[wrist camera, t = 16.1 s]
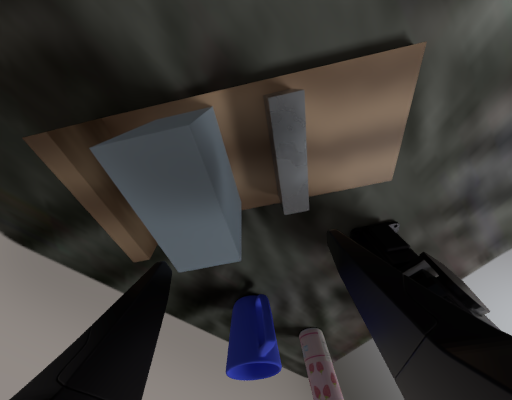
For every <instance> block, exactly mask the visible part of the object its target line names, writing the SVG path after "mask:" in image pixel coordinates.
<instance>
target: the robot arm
mask: <svg viewBox="0 0 512 400" xmlns="http://www.w3.org/2000/svg"><path fill="white" fill-rule="evenodd" d="M399 226H400V224H399V223H398V222H390V223H385V224H379V225H374V226H369V227H363V228H358V229H354V230H352V231H351V237H350V238H349V237H347V236H346V235H344V234H343V233H341V232H340V231H338V230H336V229H332V230H328V232H327V243H328V247H329V249H330V252H331V254H332V257H333V260H334V262H335V265H336V267H337V270H338V272H339V274H340V276H341V278H342V280H343V282H344V284H345V286H346V288H347V290H348V292H349V294H350V295H351V297H352V299H353V301H354V303H355V305H356V307H357V309H358V311H359V313H360V315H361V316H362V318H363V320H364V322H365V324H366V326H367V328H368V330H369V332H370V334H371V336H372V338H373V339H374V341H375V343H376V345H377V347H378V349H379V351H380V353H381V355H382V357H383V358H384V360H385V362H386V364H387V366H388V368H389V370H390V372H391V374H392V376H393V378H395V382H396V384H397V385H398V387H399V389H400V391H401V393H402V395H403V397H404V399H405V400H512V336H511V335H509V334H507V333H505V332H503V331H501V330H500V329H499V328H498V327H497V326H495V324H494V323H492V322H491V321H490V320H489V319H488V318H487V317H486V316H485V315H484V314H486V313H489V312H490V311H489V309H488V308H487V307H486V306H485V305H484V304H483V303H482V302H481V301H480V299H479V298H478V297H477V296H476V295H475V294H474V293H473V292H472V291H471V290H470V288H469V287H468V286H467V285H466V284H465V283H464V282H463V281H462V280H461V279H460V278H459V277H457V276H456V275H455V274H454V273H453V272H452V271H451V270H449V269H448V268H447V267H446V266H445V265H443V264H442V263H441V262H439V261H438V260H436V259H434V258H433V257H431V256H430V255H428V254H427V253H425V252H422V253H421V254H420V256H418V255H417V254H416V253H415V252H414V251H413V250H412V249H411V248H410V245H409V244H407V243H406V242H405V241H404V240H403V239H402V238H401V237H400V236H399V235H398V234H397V232H398V229H399ZM437 275H439V276H438V277H435V276H437ZM171 277H172V270H171V268H170V267H169V266H168V264H167V263H166V262H165V261H161V262H157V263H155V264H154V265H153V266H152V267H151V268H150V269H149V270H148V271H147V272H146V273H145V274H144V275H143V276H142V277H141V278H140V279H139V280H138V281H137V282H136V283H135V284H134V285H133V286H132V287H131V288H130V289H129V290H128V291H127V292H126V293H124V294H123V295H122V296H121V297H120V298H119V299H118V300H117V301H116V302H115V303H114V304H113V305H112V306H111V307H110V308H109V309H108V310H107V311H106V312H105V313H104V314H103V315H102V316H101V317H100V318H99V319H98V320H97V321H96V322H95V323H93V324H92V326H91V327H89V328H88V329H87V330H86V331H85V332H84V333H83V334H82V335H81V336H80V337H79V338H78V339H77V340H76V341H75V342H74V343H73V344H72V345H70V346H69V347H68V348H67V349H66V350H65V351H64V352H63V353H62V354H61V355H60V356H58V357H57V358H56V359H55V360H54V361H53V362H52V363H51V364H49V365H48V366H47V367H46V368H45V369H44V370H43V371H42V372H41V373H39V374H38V375H37V376H36V377H35V378H34V379H33V380H31V382H29V383H28V384H27V385H26V386H25V387H24V388H22V389H21V390H20V391H19V392H18V393H17V394H16V395H14V396H13V397H12V398H11V399H10V400H142V396H143V392H144V388H145V385H146V381H147V377H148V373H149V369H150V366H151V362H152V358H153V355H154V351H155V347H156V343H157V339H158V336H159V331H160V328H161V324H162V320H163V317H164V313H165V309H166V305H167V301H168V296H169V290H170V284H171Z"/></svg>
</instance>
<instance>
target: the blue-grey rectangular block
mask: <svg viewBox="0 0 512 400" xmlns="http://www.w3.org/2000/svg"><path fill="white" fill-rule="evenodd" d="M89 149H90V150H91V152H92V153H93V154H94V156H95V157H96V159H97V160H98V161H99V163H100V164H101V166H102V167H103V168H104V170H105V171H106V172H107V174H108V175H109V177H110V178H111V179H112V181H113V182H114V183H115V185H116V186H117V188H118V189H119V190H120V192H121V193H122V195H123V196H124V197H125V199H126V200H127V201H128V203H129V204H130V206H131V207H132V208H133V210H134V211H135V213H136V214H137V215H138V217H139V218H140V219H141V221H142V222H143V224H144V225H145V226H146V228H147V229H148V231H149V232H150V233H151V235H152V236H153V237H154V239H155V240H156V242H157V243H158V244H159V246H160V247H161V248H162V250H163V251H164V253H165V254H166V255H167V257H168V258H169V260H170V261H171V262H172V264H173V265H174V266H175V268H176V269H177V271H178V272H184V271H190V270H195V269H201V268H206V267H211V266H217V265H222V264H227V263H233V262H238V261H241V200H240V196H239V193H238V190H237V186H236V183H235V180H234V176H233V173H232V170H231V166H230V163H229V159H228V156H227V153H226V149H225V146H224V143H223V139H222V136H221V133H220V129H219V126H218V122H217V119H216V116H215V112H214V109H213V106H212V107H208V108H204V109H199V110H195V111H191V112H187V113H182V114H178V115H174V116H170V117H165V118H161V119H157V120H154V121H152V122H149V123H147V124H145V125H142V126H140V127H138V128H135V129H133V130H130V131H128V132H126V133H123V134H121V135H119V136H116V137H114V138H112V139H109V140H107V141H105V142H102V143H100V144H98V145H95V146H93V147H90V148H89Z"/></svg>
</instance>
